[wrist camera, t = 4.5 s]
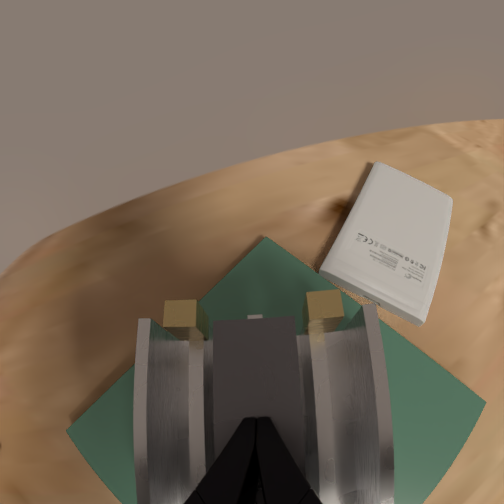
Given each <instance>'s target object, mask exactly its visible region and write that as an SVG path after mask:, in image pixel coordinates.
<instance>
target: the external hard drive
mask: <svg viewBox="0 0 504 504" xmlns="http://www.w3.org/2000/svg"><path fill="white" fill-rule="evenodd" d="M452 205H453V199H452V198H451V197H450V196H448V195H447V194H445V193H443V192H441V191H439V190H437V189H435V188H433V187H432V186H430V185H428V184H426V183H424V182H422V181H420V180H418V179H416V178H414V177H411V176H410V175H408V174H405V173H403V172H401V171H399V170H397V169H395V168H392V167H390V166H388V165H386V164H384V163H381V162H377V161H376V162H375V163H374V165H373V167H372V169H371V171H370V173H369V175H368V177H367V179H366V181H365V183H364V185H363V188H362V190H361V192H360V194H359V196H358V198H357V200H356V202H355V204H354V205H353V207H352V209H351V211H350V213H349V215H348V217H347V219H346V221H345V223H344V225H343V227H342V229H341V230H340V232H339V234H338V236H337V238H336V240H335V242H334V244H333V245H332V247H331V249H330V251H329V253H328V255H327V256H326V258H325V260H324V262H323V263H322V265H321V267H320V269H319V272H318V274H319V275H320V276H322V277H323V278H325V279H327V280H329V281H331V282H333V283H335V284H337V285H339V286H340V287H342V288H344V289H346V290H348V291H350V292H352V293H354V294H356V295H358V296H360V297H364V298H366V299H368V300H370V301H372V302H374V303H376V304H377V305H378V306H380V307H382V308H383V309H385V310H387V311H389V312H391V313H393V314H395V315H397V316H399V317H401V318H403V319H405V320H407V321H409V322H411V323H413V324H414V325H416V326H418V327H419V326H421V325H422V324H424V323H425V320H426V317H427V314H428V311H429V307H430V304H431V301H432V298H433V294H434V291H435V287H436V284H437V280H438V276H439V272H440V268H441V264H442V260H443V255H444V251H445V246H446V241H447V236H448V231H449V225H450V218H451V212H452Z"/></svg>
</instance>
